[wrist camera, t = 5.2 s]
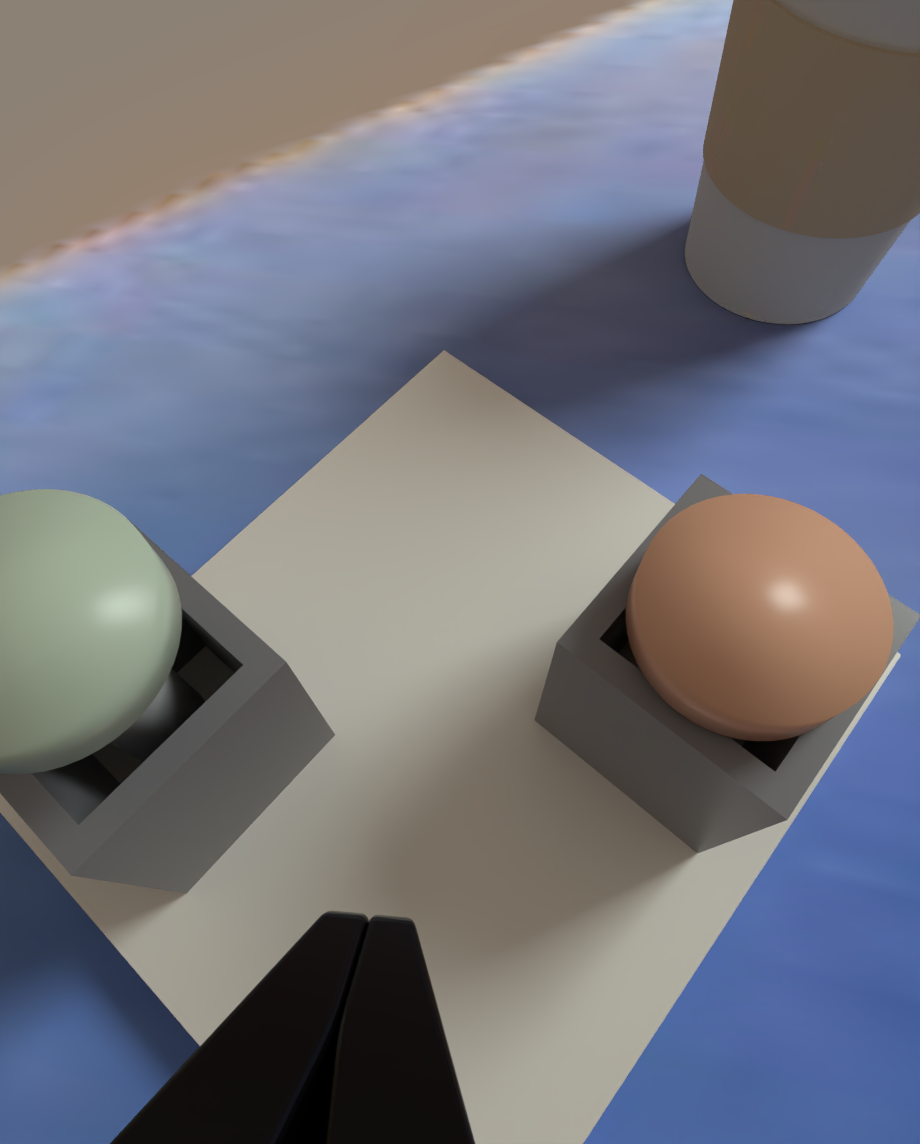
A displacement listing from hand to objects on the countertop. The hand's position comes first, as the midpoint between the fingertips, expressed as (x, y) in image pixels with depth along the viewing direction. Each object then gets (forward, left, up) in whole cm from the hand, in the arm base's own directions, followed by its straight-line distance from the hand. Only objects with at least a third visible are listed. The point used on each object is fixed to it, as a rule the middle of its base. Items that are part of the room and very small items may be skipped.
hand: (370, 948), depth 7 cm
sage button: (-1, +8, -10) cm, 13 cm away
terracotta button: (+8, -1, -12) cm, 15 cm away
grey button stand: (+4, +3, -13) cm, 15 cm away
